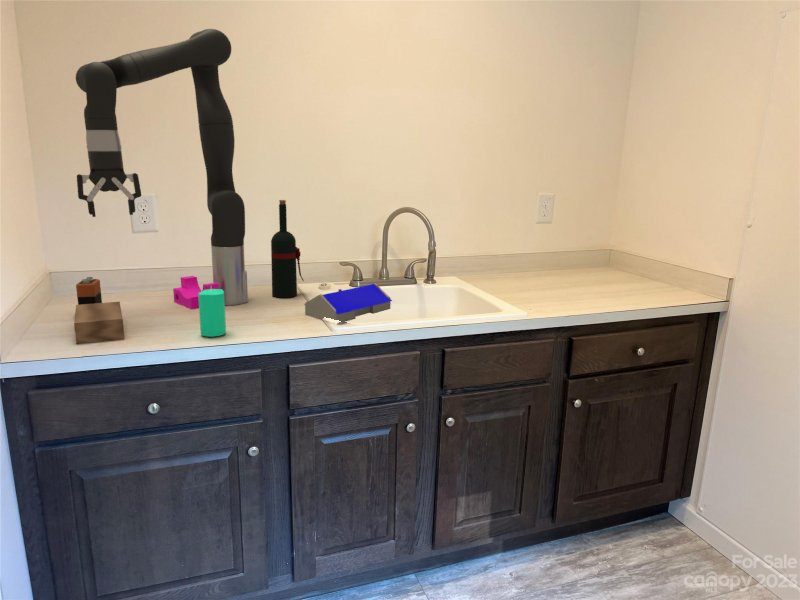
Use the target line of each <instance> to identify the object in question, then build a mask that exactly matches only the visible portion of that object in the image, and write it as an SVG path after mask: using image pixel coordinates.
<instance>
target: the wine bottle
mask: <svg viewBox="0 0 800 600" xmlns="http://www.w3.org/2000/svg"><path fill="white" fill-rule="evenodd" d="M278 201H279V204H278V212H279V213H278V221H279V222H278V223H279V230H278V231H277V232H275V233H274V234H273V235H272V238H271V241H270V246H271V247H270V249H271V250H270V253H271V256H270V257H271V297H272V298H275V299H279V300H280V299H281V300H283V299H286V300H287V299H294V298H296V297H297V296H298V288H297V287H298V286H297V285H298V284H297V283H298V281H297V280H298V279H297V268H298V274H299V276H300V278H301V280H302V282H305V280H304V278H303V277H302V272H301V265H300V260H301V259H300V257H301V251H300V247H298V246H297V242H296V238H295V236H294V235H293V233H292V232H291V231H288V225H287V223H288V221H287V220H288V219H287V204H286V203H287V200H285V199H279V200H278ZM297 266H298V267H297Z"/></svg>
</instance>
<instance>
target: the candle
mask: <svg viewBox="0 0 800 600" xmlns="http://www.w3.org/2000/svg"><path fill="white" fill-rule="evenodd" d="M201 291H202V290H201ZM198 296H199V308H198V311H199V326H200V328H199V329H200V334H201V336H202V337H203V336H204V337H219V336H223V335H225V334H226V333H227V327H226V326H227V325H226V324H227V323H226V305H225V301H224V291H223V290H222V289H208V290H204V291H202V292H200V293H198Z"/></svg>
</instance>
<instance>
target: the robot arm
mask: <svg viewBox="0 0 800 600" xmlns="http://www.w3.org/2000/svg"><path fill="white" fill-rule="evenodd" d="M231 54H232V44H231V41H230V39H229V38H228V36H227V35H226V34H225V33H223V32H222V31H221V30H219V29H215V28H207V29H203V30H200V31H197V32H195V33H193V34H192V35H191V36H190V37H189V38H188V39H185V40H183V41H180V42H176V43H171V44H167V45H163V46H159V47H158V46H157V47H152V48H148V49H147V48H146V49H142V50H137V51H134V52H130V53H126V54H122V55H119V56H117V57H114V58H112V59H106V60H102V61H92V62H90V63H87V64H86V63H85V64H83V65H82V66H79V68H78V69H77V71H76V73H75V82H76V84H77V86H78V88H79V89H80V90H81V91H83V92H84V93H85V95H86V97H85V98H86V105H85V107H84V110H83V117H84V125H85V141H86V150H87V157H88V165H89V174H79V173H78V174H77V175H76V185H77V198H78V200H81V201H85V202H86V203H87V209H88V214H89V215H92V217H93V218H96V209H95V202H94V198H95V197H96V196H97V194H98V193H99V191H100V192H106V193H107V192H110V191H111V192H118V191H121V192H122V193H123V194H124V195H125V197H127V198H128V199H127V204H128V212H129V215H130V216H134V215H133V214H134V213H135V212H136V203H135V199H137V198H141V197H142V190H141V189H142V188H141V184H140V179H139V174H137V173H135V172H132V173H128V174H127V173H125V169H124V161H123V154H122V152H123V151H122V144H121V139H120V134H119V131H118V130H119V128H118V121H117V114H116V107H117V93H118V92H117V89H120V88H122V87H127V86H134V85H139V84H142V83H146V82H149V81H153V80H155V79H159V78H162V77H164V76H166V75H170V74H173V73H175V72H179V71H182V70H185V69H189V68H190V70H191V71H190V72H191V75H192V80H193V85H194V91H195V92H194V93H195V102H196V103H195V104H196V109H197V118H198V120H197V121H198V131H199V137H200V144H201V150H202V151H201V152H202V154H203V155H202V157H203V161H204V164H205V166H204V167H205V171H206V187H207V190H206V192H207V193H206V198H207V199H206V200H207V203H206V205H207V209H208V212H209V213H210V215H211V223H212V224H211V227H212V228H211V229H212V231H211V232H212V233H211V236H210V245H211V246H210V247H211V248H210V249H211V263H212V264H211V267H212V283H218V284H219V289H222V290H223V291H224V301H225V306H236V305H241V304H244V303H245V304H246V303H247V304H248V303H249V301H248V300H249V299H248V297H249V295H248V294H249V293H248V272H247V270H246V266H245V261H246V260H245V242H244V241H245V235H246V209H245V202H244V200H243V198H242V197H241V195H240V194H239V193H237V192H236V188H235V183H234V182H235V181H234V174H233V162H234V156H235V155H234V154H235V132H234V131H235V130H234V123H233V117H232V113H231V110H230V108H229V106H228V102H227V101H226V99H225V97H224V95H223V92H222V89H221V85H220V78H219V77H220V76H219V67H220V66H221V65H223V64H225V63H226V62H227V61H228V60H229V59H230V57H231ZM127 179H128V180H129V181H130V182H131V183H132V184H133V187H134V188H133V189H134V192H133V193H131V192H130V191H129V190H128V189H127V187H125V186H124V183H125V182H126V180H127ZM88 180H89V181H90V182H91V183H92V184H93V185H94V186H93V187H92V189H91V190H90V192H89V194H88V195H86V194H84V184H86V183H87V181H88Z"/></svg>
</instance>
